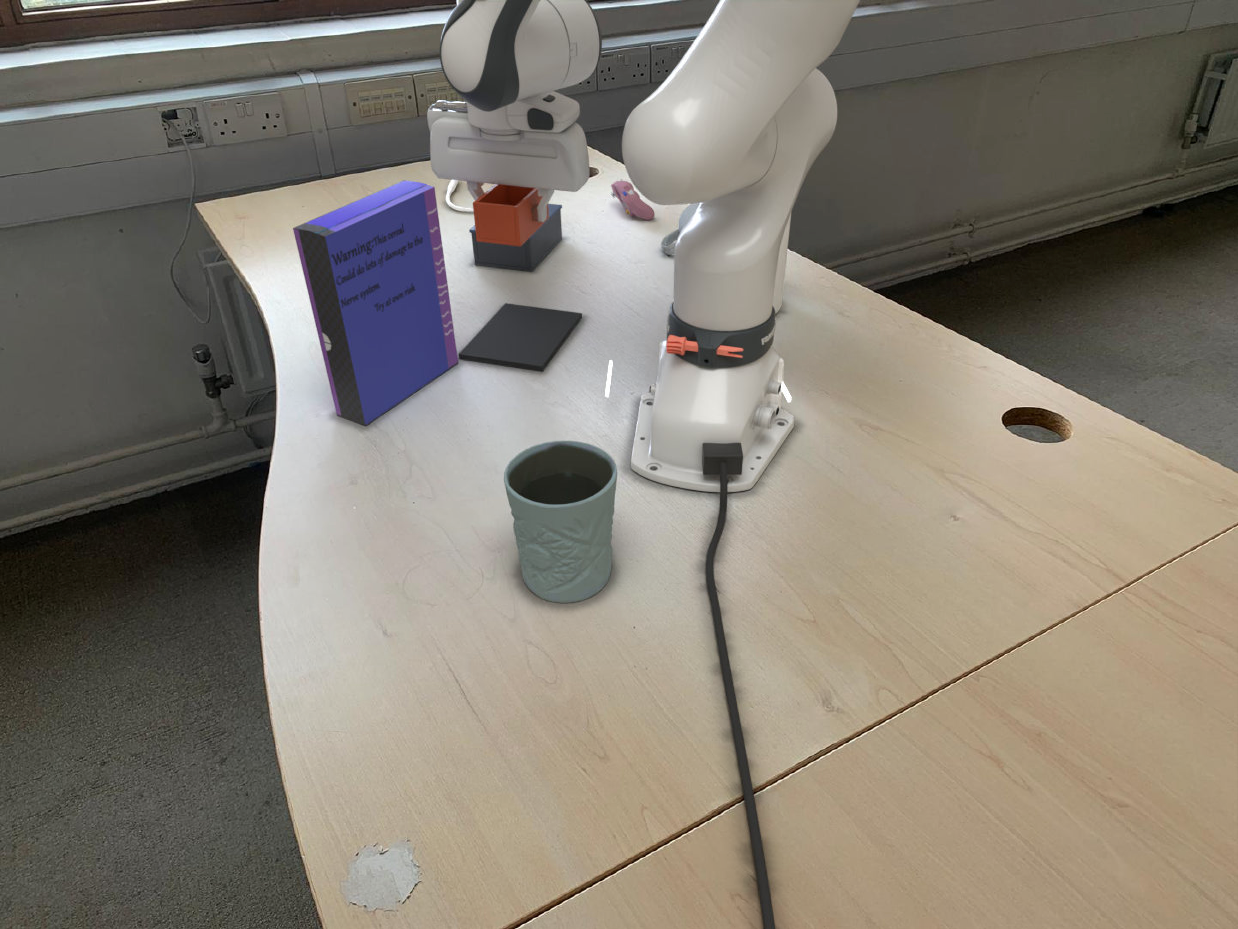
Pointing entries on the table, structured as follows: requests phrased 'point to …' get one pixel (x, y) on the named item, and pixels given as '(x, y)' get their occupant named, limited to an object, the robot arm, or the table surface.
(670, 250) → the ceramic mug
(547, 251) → the storage box
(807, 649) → the table surface
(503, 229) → the top tub
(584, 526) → the green embossed cup
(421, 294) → the purple flat upright box
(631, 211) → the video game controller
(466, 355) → the mat
